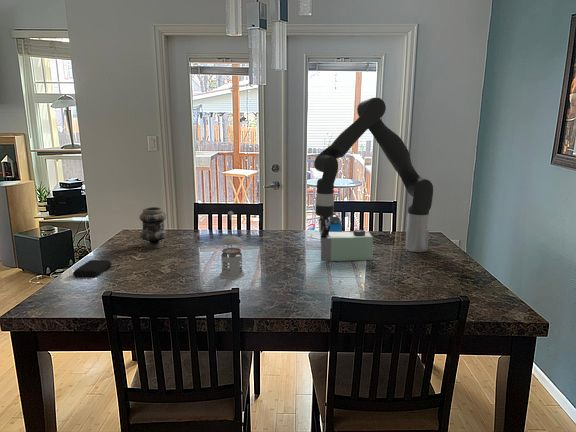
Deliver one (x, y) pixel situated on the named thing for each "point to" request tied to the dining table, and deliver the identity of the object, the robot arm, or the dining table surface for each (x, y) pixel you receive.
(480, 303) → the dining table surface
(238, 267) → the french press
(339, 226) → the alarm clock
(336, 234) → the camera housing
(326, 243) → the side door
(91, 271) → the carrying case or bag
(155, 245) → the apothecary jar
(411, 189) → the robot arm
